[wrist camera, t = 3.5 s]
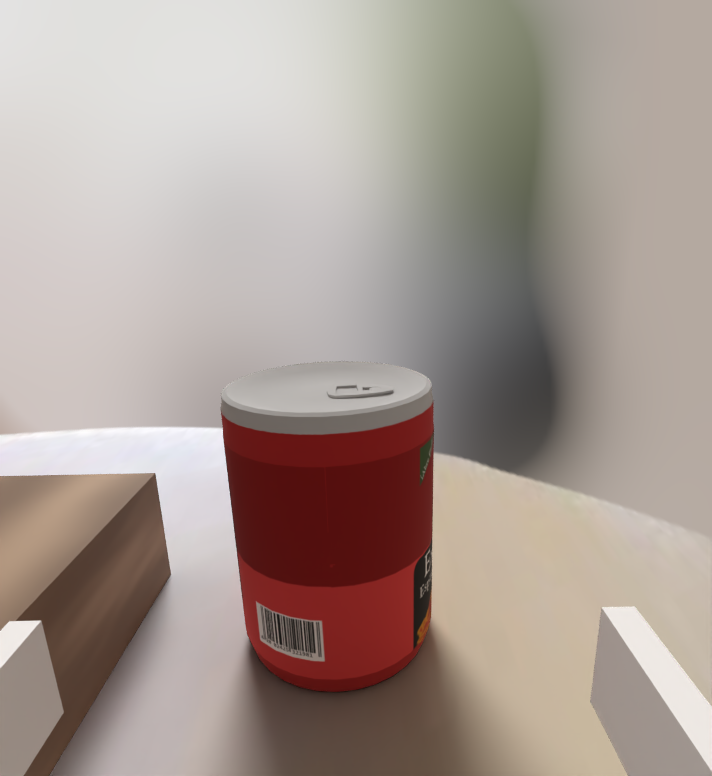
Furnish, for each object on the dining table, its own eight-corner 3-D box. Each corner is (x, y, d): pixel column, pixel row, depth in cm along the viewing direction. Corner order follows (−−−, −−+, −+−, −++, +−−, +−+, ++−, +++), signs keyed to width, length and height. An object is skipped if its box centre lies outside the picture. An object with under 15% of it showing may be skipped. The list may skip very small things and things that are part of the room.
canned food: (463, 668, 19) (471, 398, 16) (255, 727, 17) (221, 429, 14) (394, 557, 26) (391, 354, 23) (241, 588, 24) (216, 370, 21)
